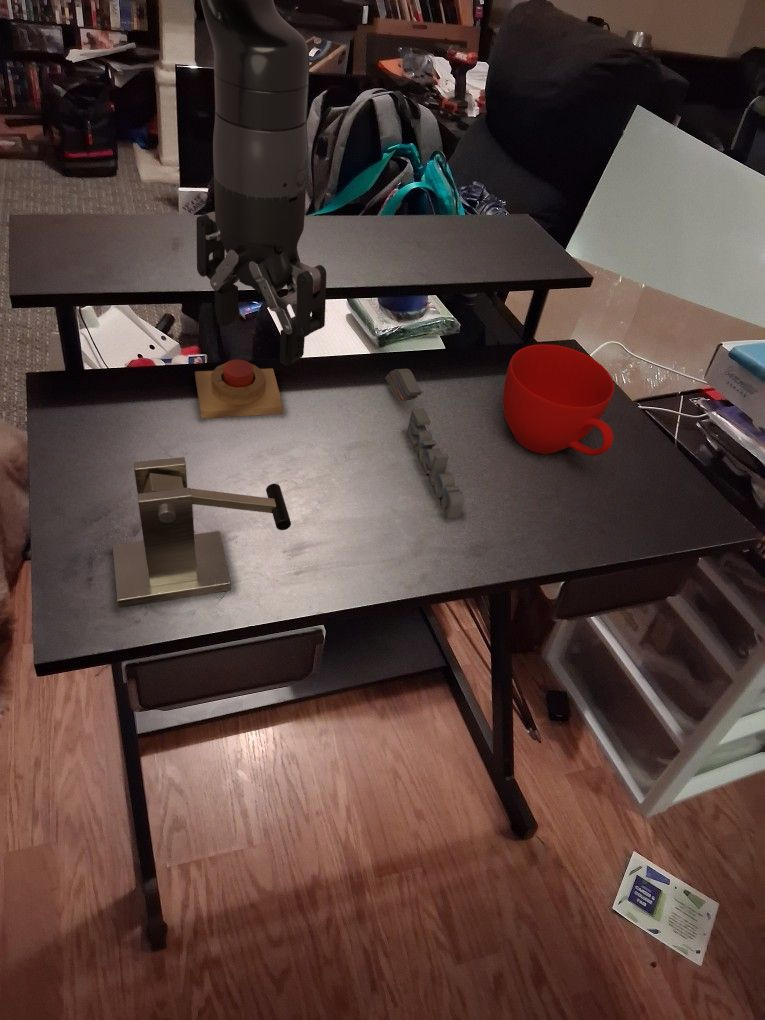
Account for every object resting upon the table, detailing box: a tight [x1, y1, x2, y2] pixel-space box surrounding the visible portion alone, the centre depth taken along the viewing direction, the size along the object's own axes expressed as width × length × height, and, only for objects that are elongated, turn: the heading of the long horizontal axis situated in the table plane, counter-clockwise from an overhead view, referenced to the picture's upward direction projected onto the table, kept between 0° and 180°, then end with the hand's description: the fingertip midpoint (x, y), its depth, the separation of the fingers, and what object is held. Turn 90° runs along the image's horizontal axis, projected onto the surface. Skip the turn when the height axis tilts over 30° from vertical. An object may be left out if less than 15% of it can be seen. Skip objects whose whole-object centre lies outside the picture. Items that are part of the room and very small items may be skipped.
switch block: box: [194, 363, 284, 419], centre depth 92 cm, size 10×8×3 cm
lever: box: [143, 473, 292, 531], centre depth 67 cm, size 13×5×2 cm, turn 107°
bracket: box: [112, 456, 232, 609], centre depth 68 cm, size 10×7×13 cm, turn 108°
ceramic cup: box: [502, 343, 615, 456], centre depth 91 cm, size 13×17×10 cm
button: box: [223, 359, 253, 387], centre depth 91 cm, size 4×4×2 cm
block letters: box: [384, 368, 465, 520], centre depth 89 cm, size 25×2×6 cm, turn 17°
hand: (258, 341), depth 72 cm, fingers open, 8 cm apart
